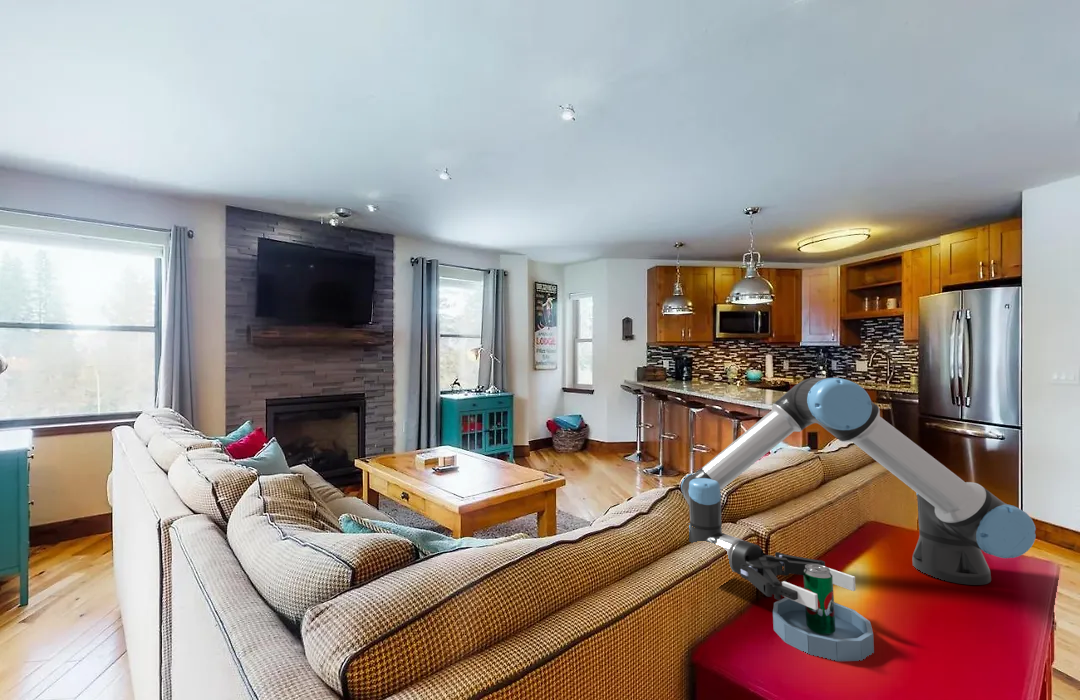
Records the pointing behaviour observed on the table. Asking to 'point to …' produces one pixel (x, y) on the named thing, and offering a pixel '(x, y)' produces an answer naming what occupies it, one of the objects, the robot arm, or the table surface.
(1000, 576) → the table surface
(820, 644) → the bowl
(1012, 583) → the table surface
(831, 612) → the soda can
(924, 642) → the table surface
